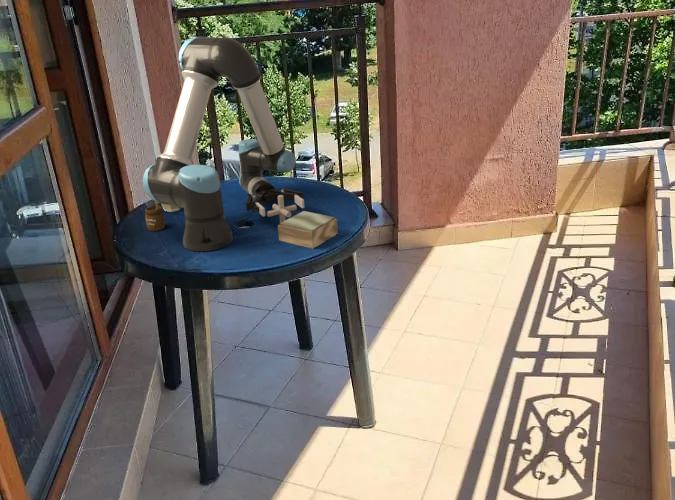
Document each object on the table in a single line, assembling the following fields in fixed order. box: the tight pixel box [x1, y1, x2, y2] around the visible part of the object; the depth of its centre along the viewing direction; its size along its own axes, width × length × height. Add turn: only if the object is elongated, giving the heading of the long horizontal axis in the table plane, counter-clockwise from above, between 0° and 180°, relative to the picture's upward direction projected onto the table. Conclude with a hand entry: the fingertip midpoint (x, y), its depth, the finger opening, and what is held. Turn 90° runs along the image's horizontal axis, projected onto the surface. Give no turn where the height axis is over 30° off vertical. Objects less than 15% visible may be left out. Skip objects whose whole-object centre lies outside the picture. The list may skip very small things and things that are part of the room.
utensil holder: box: [144, 194, 166, 232], centre depth 209 cm, size 6×6×12 cm
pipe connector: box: [266, 195, 298, 224], centre depth 206 cm, size 10×10×10 cm
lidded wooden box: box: [277, 210, 339, 250], centre depth 197 cm, size 13×13×6 cm
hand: (283, 208), depth 206 cm, fingers open, 13 cm apart
